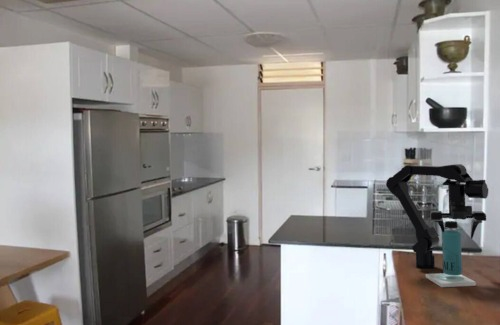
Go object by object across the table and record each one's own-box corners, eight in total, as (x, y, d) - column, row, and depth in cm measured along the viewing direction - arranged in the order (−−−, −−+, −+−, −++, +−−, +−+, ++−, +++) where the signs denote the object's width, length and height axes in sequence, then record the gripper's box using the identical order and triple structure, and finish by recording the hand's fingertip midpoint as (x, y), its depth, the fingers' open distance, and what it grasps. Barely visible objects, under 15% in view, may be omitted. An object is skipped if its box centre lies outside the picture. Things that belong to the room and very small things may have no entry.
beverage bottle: (462, 275, 153) (460, 220, 153) (463, 280, 147) (461, 223, 147) (442, 274, 156) (440, 219, 156) (442, 279, 150) (441, 222, 150)
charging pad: (425, 277, 157) (425, 273, 157) (457, 275, 158) (457, 272, 158) (441, 287, 145) (441, 283, 145) (475, 285, 146) (475, 281, 146)
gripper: (430, 199, 158) (432, 241, 158) (488, 199, 151) (489, 243, 151) (429, 196, 168) (431, 235, 168) (483, 196, 161) (484, 237, 161)
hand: (457, 238), depth 162 cm, fingers open, 9 cm apart
